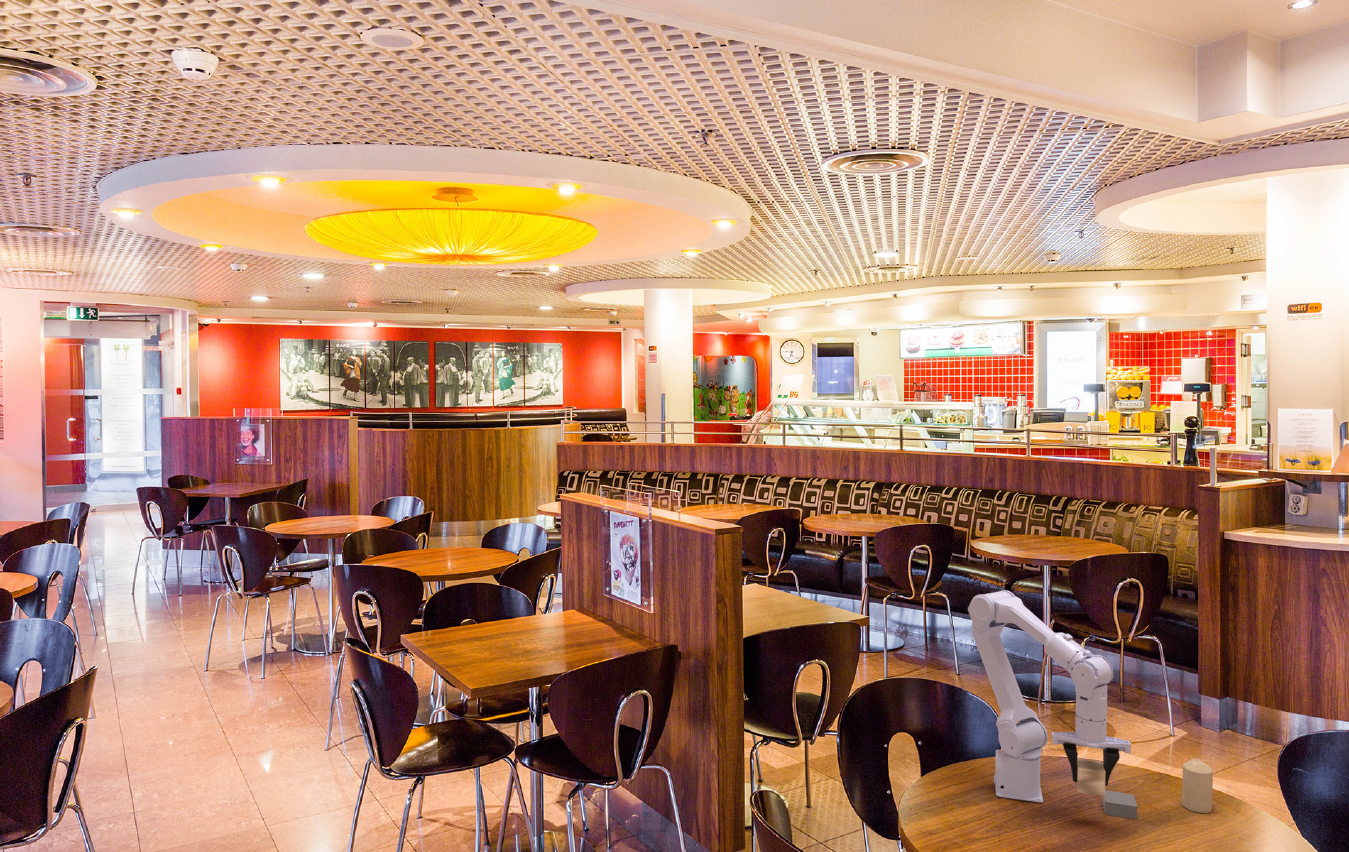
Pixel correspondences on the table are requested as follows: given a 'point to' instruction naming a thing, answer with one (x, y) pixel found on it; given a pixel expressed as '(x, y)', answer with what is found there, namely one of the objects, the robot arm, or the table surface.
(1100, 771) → the beech cube
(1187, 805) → the candle
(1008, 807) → the table surface
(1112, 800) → the gray block
